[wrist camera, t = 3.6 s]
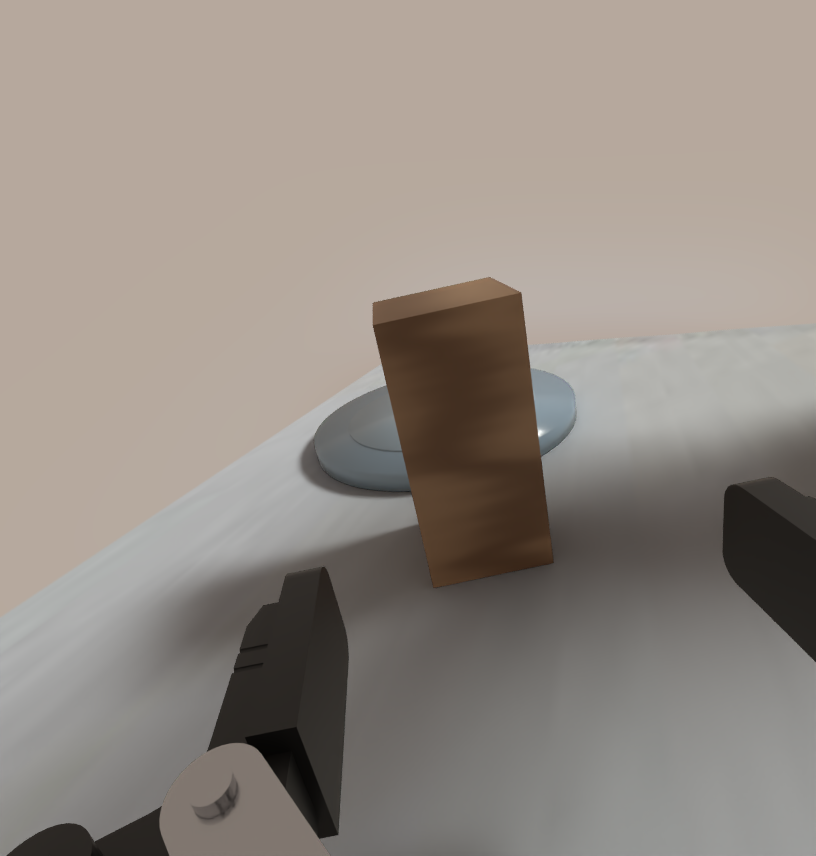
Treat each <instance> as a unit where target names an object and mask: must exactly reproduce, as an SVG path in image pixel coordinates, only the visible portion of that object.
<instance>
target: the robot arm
mask: <svg viewBox="0 0 816 856" xmlns="http://www.w3.org/2000/svg"><path fill="white" fill-rule="evenodd" d="M723 558H724V562H725V565H726V567H727V570H728V572H729V574H730V575H731V577H732V578H733V580H734V581H735V582H736V583H737V585H738V586H739V587H740V588H741V589H743V590H744V591H745V592H746V593H747V594H748V595H749V596H750V597H751V598H752V599H753V600H754V601H755V602H756V603H757V604H758V605H759V606H760V607H761V608H762V609H763V610H764V611H765V612H766V613H767V614H768V615H769V616H770V617H771V618H772V619H773V620H774V621H775V622H776V623H777V624H778V625H779V626H780V627H781V628H782V629H783V630H784V631H785V632H786V633H787V634H788V635H789V636H790V637H791V638H792V639H793V640H794V641H795V642H796V643H797V644H798V645H799V646H800V647H801V648H802V649H803V650H804V651H805V652H806V653H807V654H808V655H809V656H810V657H811V658H812V659H813V660H814V661H815V662H816V499H815V498H812V497H809V496H808V497H805V496H803V495H802V494H800V493H799V492H797V491H796V490H794V489H792V488H791V487H789V486H788V485H786V484H784V483H783V482H781V481H780V480H778V479H776V478H772V477H768V478H763V479H759V480H754V481H749V482H744V483H739V484H734V485H730V486H729V487H728V488H727V489H726V491H725V496H724V522H723ZM348 661H349V653H348V642H347V635H346V630H345V626H344V623H343V620H342V616H341V613H340V610H339V607H338V603H337V600H336V597H335V594H334V590H333V587H332V584H331V581H330V577H329V574H328V572H327V570H326V568H325V567H319V568H314V569H309V570H304V571H299V572H295V573H290V574H287V575H286V577H285V580H284V583H283V587H282V591H281V595H280V599H279V602H278V603H273V604H268V605H263V607H262V608H261V609H260V610H259V612H258V613H257V614H256V616H255V617H254V618H253V619H252V621H251V622H250V623H249V625H248V626H247V628H246V631H245V634H244V637H243V640H242V644H241V647H240V654H238V656H237V659H236V663H235V666H234V673H232V675H231V678H230V681H229V685H228V688H227V691H226V694H225V697H224V700H223V704H222V707H221V710H220V713H219V716H218V719H217V722H216V726H215V729H214V732H213V735H212V738H211V741H210V744H209V748H208V750H207V752H206V753H204V754H203V755H201V756H200V757H198V758H197V759H196V760H195V761H193V762H192V763H191V764H190V765H189V766H188V767H187V768H186V769H185V770H184V771H183V772H182V773H181V774H180V775H179V776H178V778H177V779H176V780H175V781H174V783H173V785H172V786H171V788H170V789H169V791H168V793H167V795H166V797H165V799H164V802H163V805H162V806H161V807H160V808H158V809H156V810H155V811H153V812H151V813H150V814H148V815H146V816H144V817H142V818H140V819H138V820H136V821H134V822H132V823H130V824H128V825H126V826H124V827H122V828H120V829H118V830H116V831H115V832H113V833H111V834H109V835H107V836H105V837H103V838H101V839H99V840H97V841H95V842H94V840H93V839H92V837H91V836H90V834H89V833H88V831H87V830H86V829H85V828H84V827H82V826H81V825H77V824H71V823H66V824H60V825H56V826H53V827H50V828H47V829H45V830H43V831H41V832H39V833H37V834H35V835H34V836H32V837H30V838H29V839H27V840H26V841H24V842H23V843H22V844H20V845H19V846H17V847H16V848H15V849H14V850H13V851H12V852H10V853H9V854H8V855H7V856H331V855H330V854H329V853H328V851H327V850H326V848H325V847H324V845H323V844H322V842H321V841H320V840H319V839H320V838H325V837H330V836H335V835H338V831H339V814H340V797H341V780H342V763H343V746H344V729H345V712H346V695H347V678H348Z"/></svg>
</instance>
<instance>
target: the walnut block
mask: <svg viewBox="0 0 816 856" xmlns="http://www.w3.org/2000/svg"><path fill="white" fill-rule="evenodd" d="M373 328H374V332H375V337H376V341H377V345H378V349H379V354H380V358H381V362H382V367H383V371H384V376H385V380H386V384H387V389H388V393H389V397H390V402H391V406H392V410H393V415H394V419H395V423H396V428H397V432H398V436H399V441H400V445H401V449H402V453H403V458H404V462H405V466H406V471H407V475H408V479H409V484H410V488H411V492H412V497H413V501H414V505H415V510H416V514H417V518H418V523H419V527H420V531H421V536H422V540H423V544H424V549H425V553H426V557H427V562H428V566H429V570H430V575H431V579H432V583H433V588H436V587H441V586H446V585H451V584H455V583H460V582H465V581H470V580H475V579H479V578H484V577H489V576H494V575H498V574H503V573H508V572H513V571H518V570H522V569H527V568H532V567H537V566H541V565H546V564H551V563H554V562H553V554H552V546H551V537H550V529H549V520H548V512H547V504H546V495H545V487H544V479H543V470H542V462H541V453H540V445H539V437H538V428H537V420H536V412H535V403H534V395H533V387H532V378H531V370H530V361H529V353H528V345H527V336H526V328H525V320H524V311H523V303H522V294H521V292H519V291H517V290H515V289H513V288H511V287H509V286H507V285H505V284H503V283H501V282H499V281H497V280H495V279H492V278H491V277H488V278H483V279H479V280H474V281H469V282H465V283H460V284H456V285H451V286H447V287H442V288H438V289H433V290H428V291H424V292H420V293H415V294H410V295H406V296H401V297H397V298H392V299H388V300H383V301H378V302H374V303H373Z"/></svg>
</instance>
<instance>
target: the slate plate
mask: <svg viewBox="0 0 816 856" xmlns="http://www.w3.org/2000/svg"><path fill="white" fill-rule="evenodd" d="M530 370H531V378H532V387H533V395H534V403H535V412H536V420H537V428H538V437H539V445H540V453H541V456H542V455H544V454H545V453H547V452H549V451H550V450H551V449H553V448H554V447H555V446H557V445H558V444H559V443H560V442H561V441H562V440H563V439H564V438H565V437H566V436H567V435H568V434H569V432H570V431H571V430H572V428H573V426H574V423H575V421H576V402H575V394H574V391H573V389H572V387H571V386H570V385H569V383H567V382H566V381H565V380H563V379H562V378H560V377H558V376H556V375H554V374H551V373H548V372H545V371H541V370H537V369H531V368H530ZM314 446H315V450H316V453H317V456H318V460H319V463H320V465H321V467H322V469H323V470H324V471H325V472H326V473H327V474H328V475H329V476H331V477H332V478H334V479H336V480H337V481H340V482H342V483H345V484H347V485H351V486H355V487H359V488H363V489H370V490H377V491H394V492H398V491H411V488H410V484H409V479H408V475H407V471H406V466H405V462H404V458H403V453H402V449H401V445H400V441H399V436H398V432H397V428H396V423H395V419H394V415H393V410H392V406H391V402H390V397H389V393H388V389H387V385H386V386H384V387H381V388H378V389H376V390H373V391H371V392H368V393H366V394H364V395H362V396H360V397H358V398H356V399H354V400H352V401H350V402H348V403H347V404H345V405H343V406H342V407H340V408H339V409H337V410H336V411H335V412H333V413H332V414H331V415H330V416H328V417H327V418H326V419H325V420H324V421H323V422H322V424H321V425H320V426H319V428H318V429H317V431H316V433H315V437H314Z"/></svg>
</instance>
